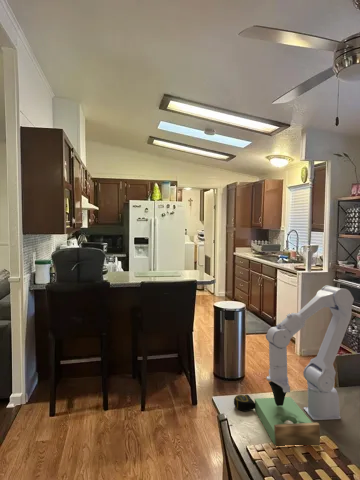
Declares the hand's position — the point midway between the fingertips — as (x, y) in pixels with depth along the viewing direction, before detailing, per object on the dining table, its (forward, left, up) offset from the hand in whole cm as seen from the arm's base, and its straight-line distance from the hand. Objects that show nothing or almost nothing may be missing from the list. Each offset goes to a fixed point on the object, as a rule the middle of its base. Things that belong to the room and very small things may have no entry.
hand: (279, 404), depth 112 cm
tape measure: (+9, -9, -5) cm, 14 cm away
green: (0, +4, -5) cm, 6 cm away
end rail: (0, +15, -5) cm, 16 cm away
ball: (0, +8, -3) cm, 9 cm away
